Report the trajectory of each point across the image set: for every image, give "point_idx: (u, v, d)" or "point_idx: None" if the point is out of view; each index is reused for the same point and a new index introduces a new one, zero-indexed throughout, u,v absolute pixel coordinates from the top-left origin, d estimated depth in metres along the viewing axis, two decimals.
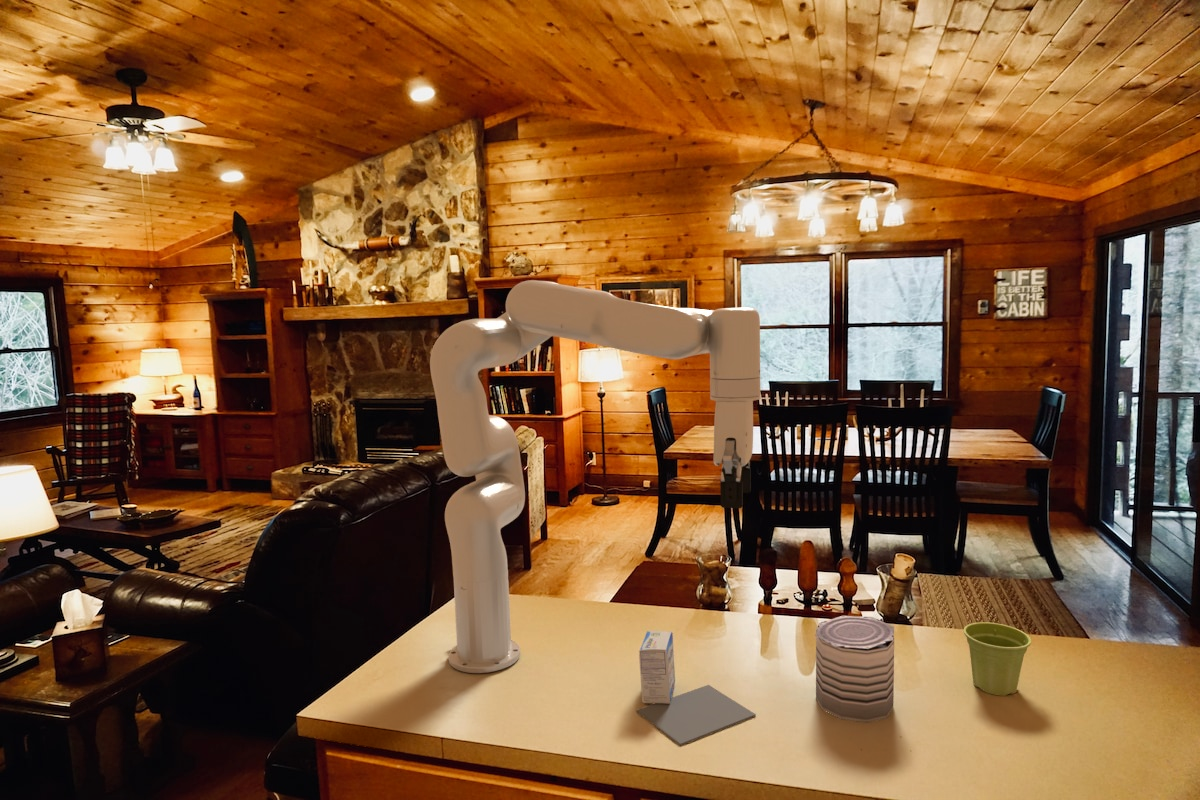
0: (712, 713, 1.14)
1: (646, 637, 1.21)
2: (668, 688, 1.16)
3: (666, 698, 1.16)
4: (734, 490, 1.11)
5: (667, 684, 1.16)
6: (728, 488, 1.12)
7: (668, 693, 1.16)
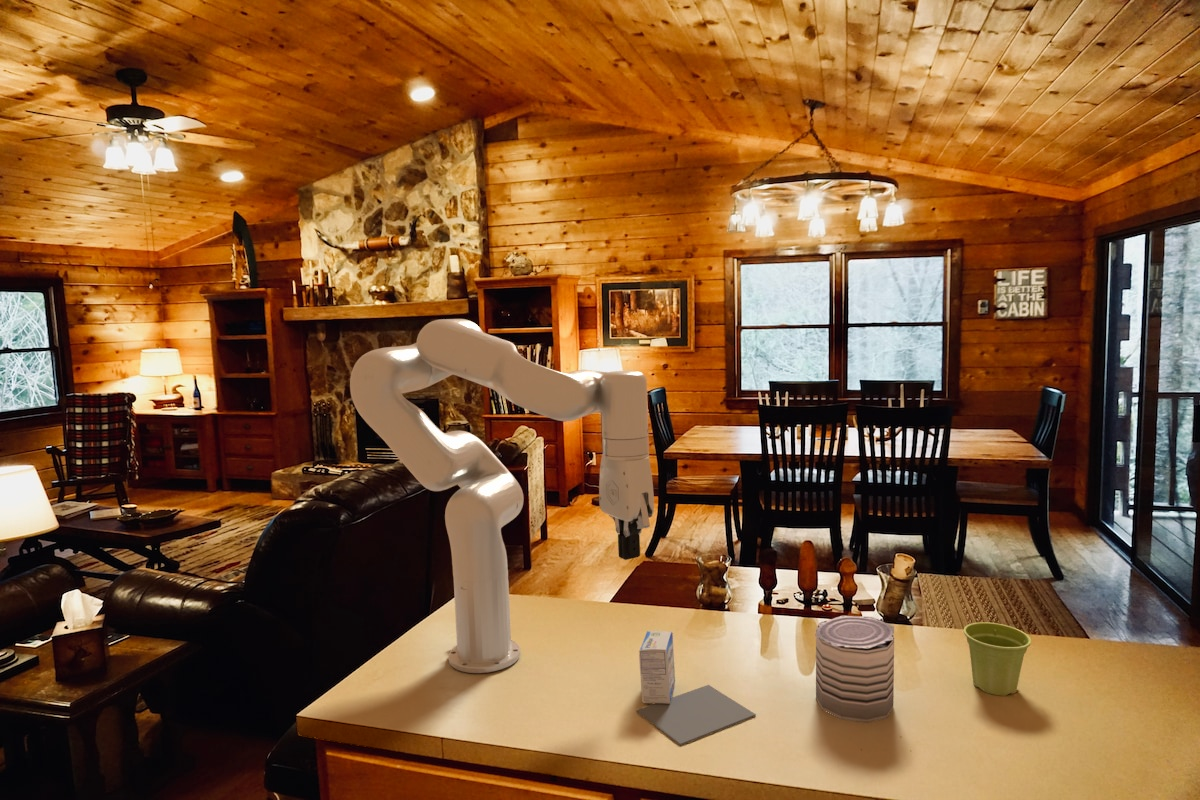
0: (712, 713, 1.14)
1: (646, 637, 1.21)
2: (668, 688, 1.16)
3: (666, 698, 1.16)
4: (636, 541, 1.24)
5: (667, 684, 1.16)
6: (632, 541, 1.23)
7: (668, 693, 1.16)
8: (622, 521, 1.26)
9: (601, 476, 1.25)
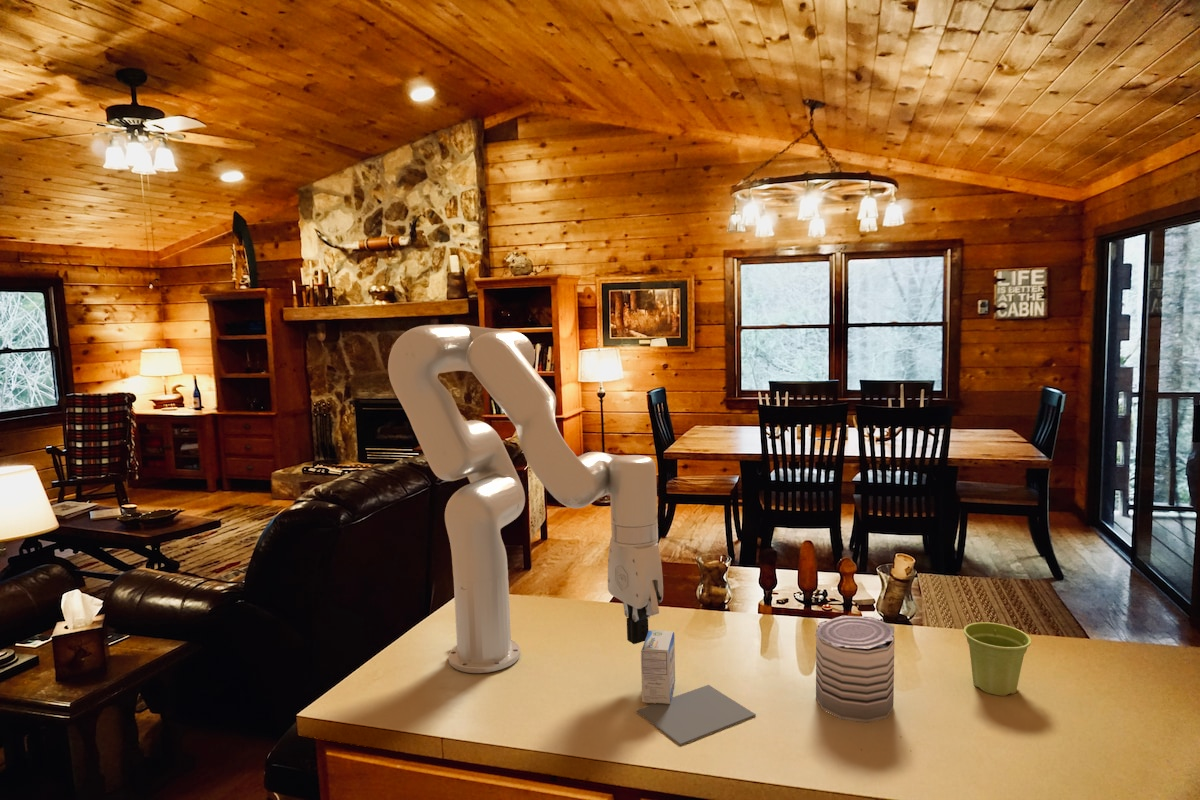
0: (712, 713, 1.14)
1: (648, 636, 1.21)
2: (669, 688, 1.16)
3: (666, 699, 1.16)
4: (645, 626, 1.24)
5: (668, 684, 1.16)
6: (640, 625, 1.23)
7: (668, 693, 1.16)
8: (631, 604, 1.26)
9: (610, 559, 1.25)
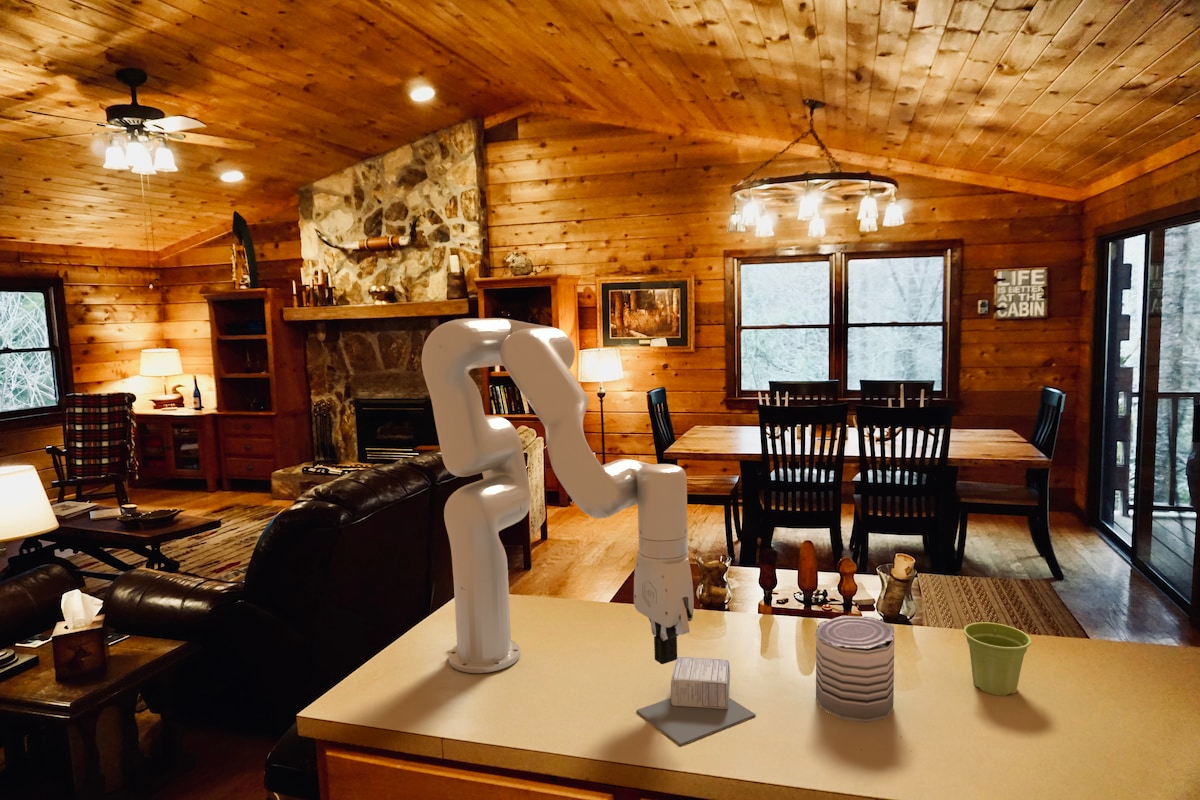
0: (712, 713, 1.14)
1: (728, 669, 1.19)
2: (687, 705, 1.16)
3: (677, 703, 1.16)
4: (674, 645, 1.17)
5: (692, 705, 1.16)
6: (669, 644, 1.16)
7: (682, 705, 1.16)
8: None
9: (636, 574, 1.18)
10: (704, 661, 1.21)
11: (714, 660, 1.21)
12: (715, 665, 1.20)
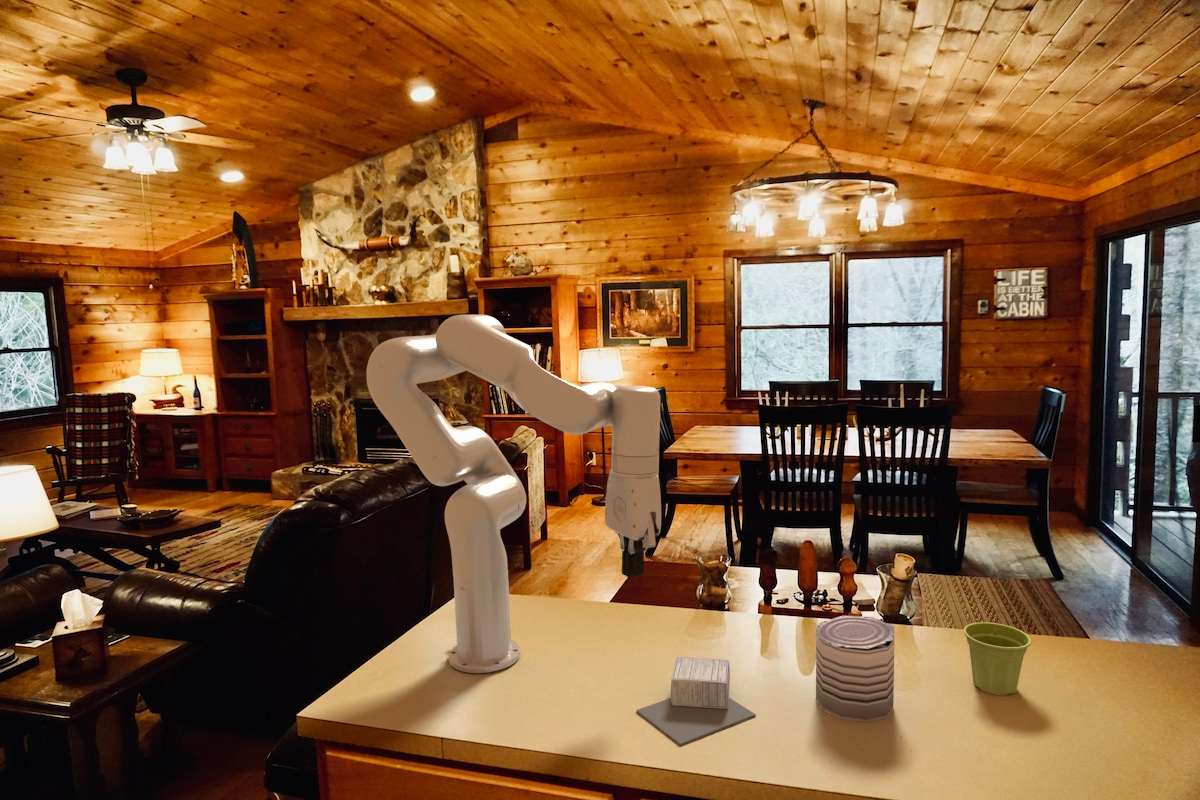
0: (712, 713, 1.14)
1: (728, 669, 1.19)
2: (687, 705, 1.16)
3: (677, 703, 1.16)
4: (641, 559, 1.22)
5: (692, 705, 1.16)
6: (636, 559, 1.21)
7: (682, 705, 1.16)
8: (627, 538, 1.24)
9: (608, 491, 1.23)
10: (704, 661, 1.21)
11: (714, 660, 1.21)
12: (715, 665, 1.20)
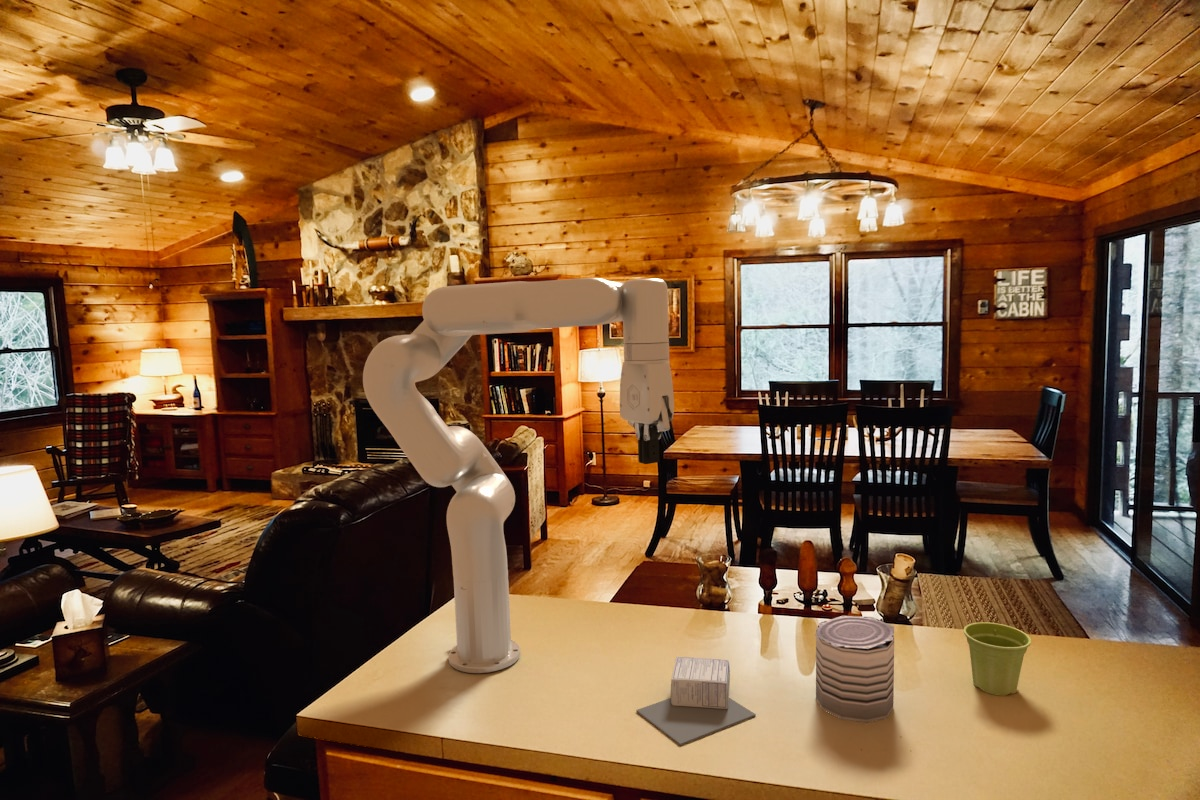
0: (712, 713, 1.14)
1: (728, 669, 1.19)
2: (687, 705, 1.16)
3: (677, 703, 1.16)
4: (656, 446, 1.27)
5: (692, 705, 1.16)
6: (652, 445, 1.26)
7: (682, 705, 1.16)
8: (642, 428, 1.29)
9: (622, 383, 1.28)
10: (704, 661, 1.21)
11: (714, 660, 1.21)
12: (715, 665, 1.20)
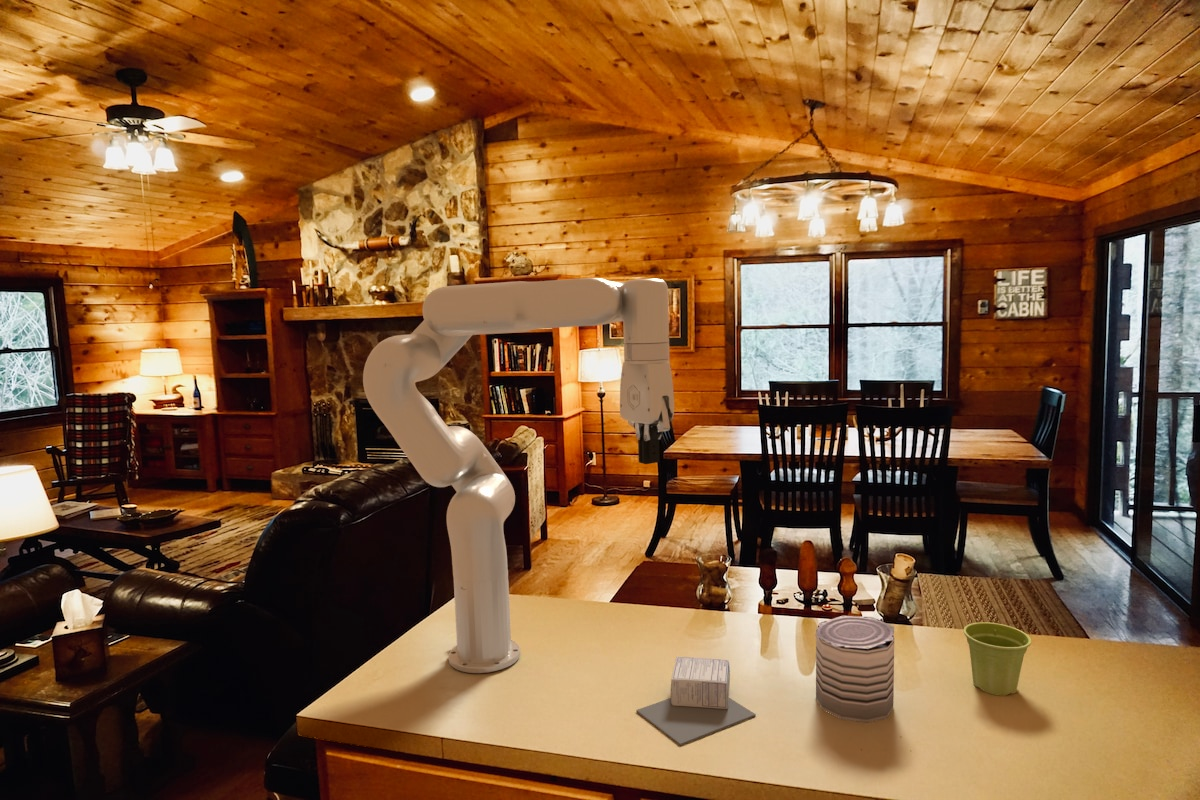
0: (712, 713, 1.14)
1: (728, 669, 1.19)
2: (687, 705, 1.16)
3: (677, 703, 1.16)
4: (656, 446, 1.27)
5: (692, 705, 1.16)
6: (652, 445, 1.26)
7: (682, 705, 1.16)
8: (642, 428, 1.29)
9: (622, 383, 1.29)
10: (704, 661, 1.21)
11: (714, 660, 1.21)
12: (715, 665, 1.20)
